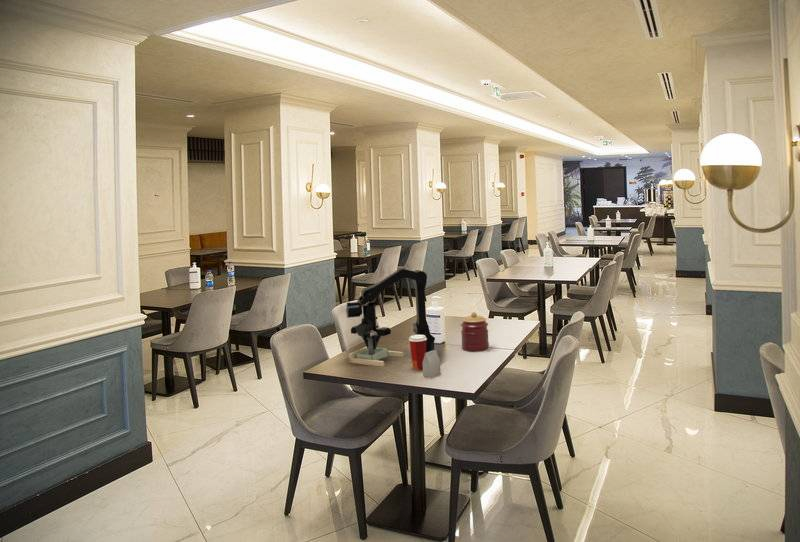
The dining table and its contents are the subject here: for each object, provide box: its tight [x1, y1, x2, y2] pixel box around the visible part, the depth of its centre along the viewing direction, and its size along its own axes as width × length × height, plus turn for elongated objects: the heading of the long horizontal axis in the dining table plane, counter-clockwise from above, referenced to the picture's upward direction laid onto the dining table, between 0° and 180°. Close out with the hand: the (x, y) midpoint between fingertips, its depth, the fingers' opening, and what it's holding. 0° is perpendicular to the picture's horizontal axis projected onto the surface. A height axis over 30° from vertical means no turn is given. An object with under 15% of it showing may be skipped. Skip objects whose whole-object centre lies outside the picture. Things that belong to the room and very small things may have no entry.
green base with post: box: [356, 335, 389, 361], centre depth 261 cm, size 9×13×10 cm
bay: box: [348, 346, 405, 367], centre depth 260 cm, size 18×18×5 cm
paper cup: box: [408, 334, 427, 371], centre depth 244 cm, size 8×8×14 cm
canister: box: [460, 311, 490, 352], centre depth 272 cm, size 13×13×18 cm
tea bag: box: [422, 349, 442, 379], centre depth 233 cm, size 4×7×10 cm, turn 136°
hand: (371, 348), depth 261 cm, fingers closed on green base with post, 3 cm apart
